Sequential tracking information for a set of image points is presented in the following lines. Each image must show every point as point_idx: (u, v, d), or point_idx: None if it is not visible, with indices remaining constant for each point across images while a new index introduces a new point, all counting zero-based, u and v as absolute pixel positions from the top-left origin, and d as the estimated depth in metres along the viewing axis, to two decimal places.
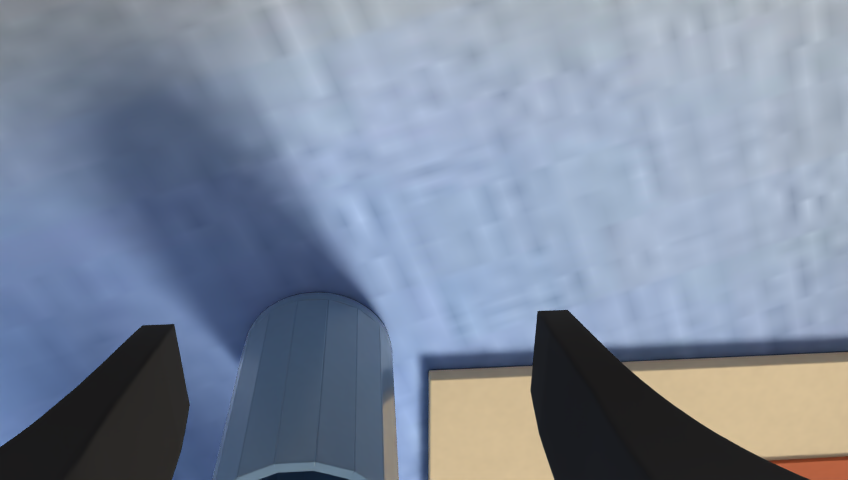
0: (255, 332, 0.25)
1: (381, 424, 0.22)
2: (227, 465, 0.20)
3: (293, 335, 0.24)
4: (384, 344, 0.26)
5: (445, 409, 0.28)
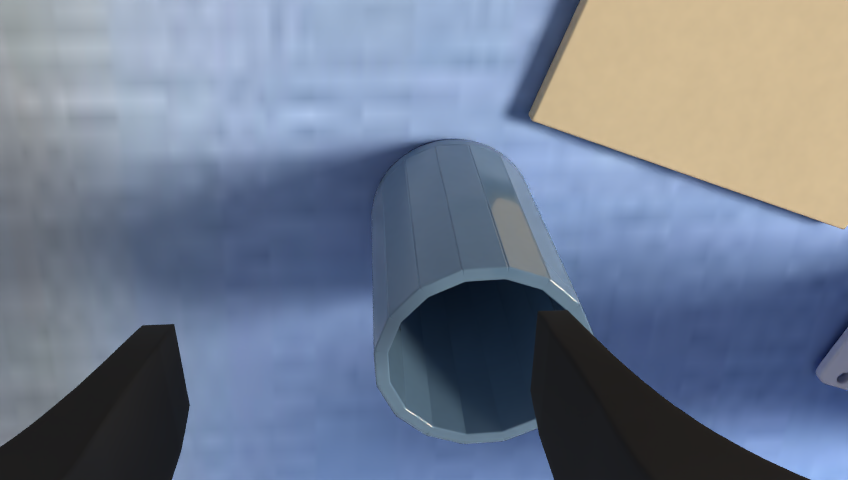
0: None
1: (449, 220, 0.19)
2: None
3: (375, 239, 0.23)
4: (448, 153, 0.23)
5: (581, 118, 0.23)
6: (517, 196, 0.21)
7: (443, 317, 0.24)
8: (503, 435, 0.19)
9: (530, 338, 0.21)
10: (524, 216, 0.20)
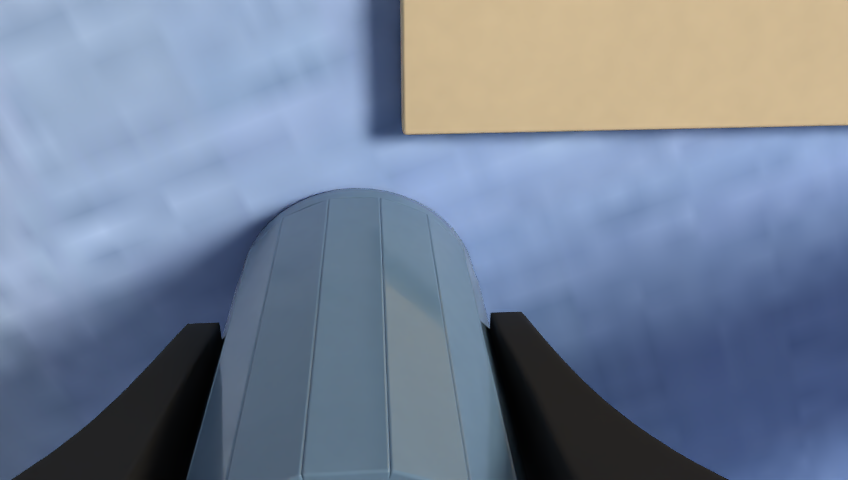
0: None
1: (247, 374, 0.11)
2: None
3: None
4: (295, 226, 0.15)
5: (477, 104, 0.14)
6: (386, 274, 0.13)
7: None
8: None
9: None
10: (384, 318, 0.12)
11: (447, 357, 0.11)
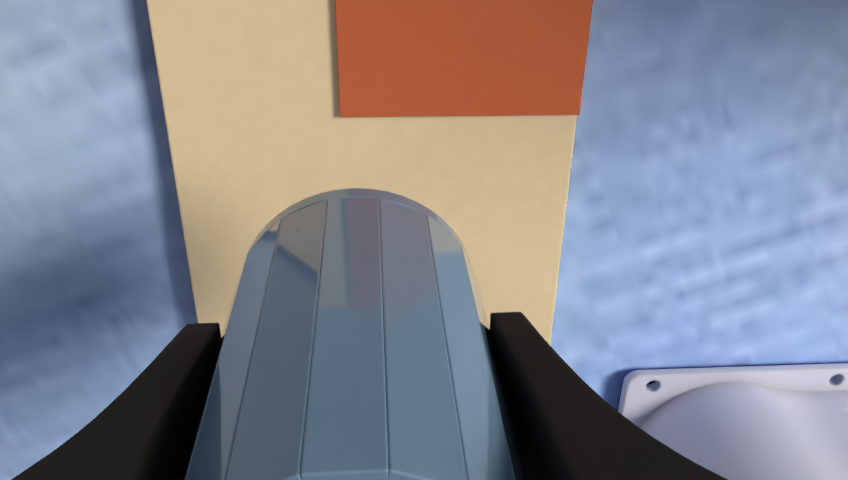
0: None
1: (246, 374, 0.11)
2: None
3: None
4: (294, 226, 0.15)
5: None
6: (385, 274, 0.13)
7: None
8: None
9: None
10: (383, 317, 0.12)
11: (446, 357, 0.11)
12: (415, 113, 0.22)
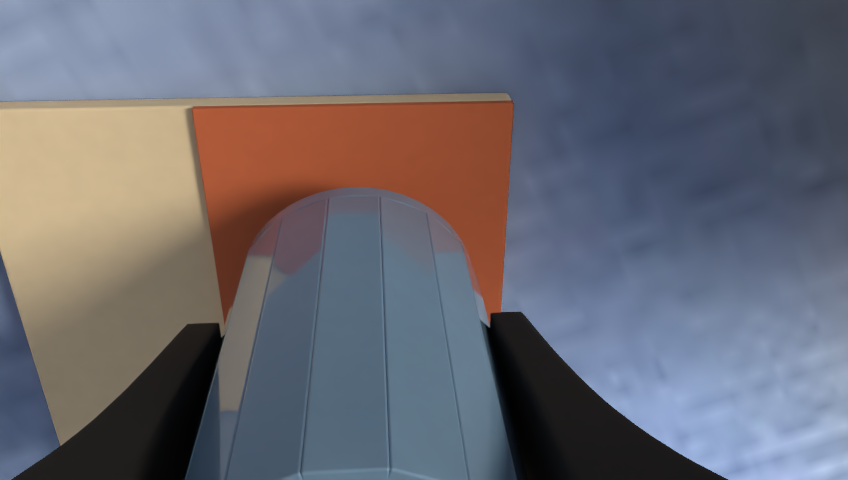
0: None
1: (246, 372, 0.11)
2: None
3: None
4: (294, 225, 0.15)
5: None
6: (385, 273, 0.13)
7: None
8: None
9: None
10: (383, 316, 0.12)
11: (446, 355, 0.11)
12: None
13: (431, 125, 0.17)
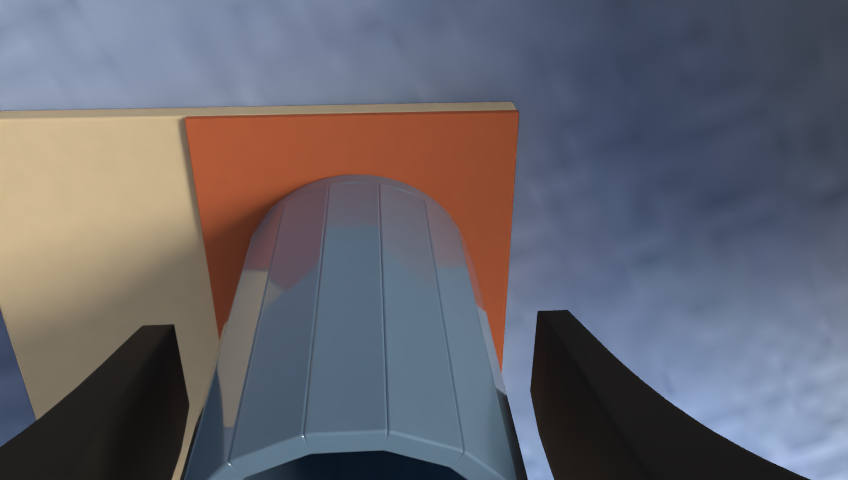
0: None
1: (251, 346, 0.12)
2: None
3: None
4: (296, 210, 0.15)
5: None
6: (384, 254, 0.13)
7: None
8: None
9: None
10: (382, 293, 0.12)
11: (442, 331, 0.12)
12: None
13: (433, 135, 0.16)
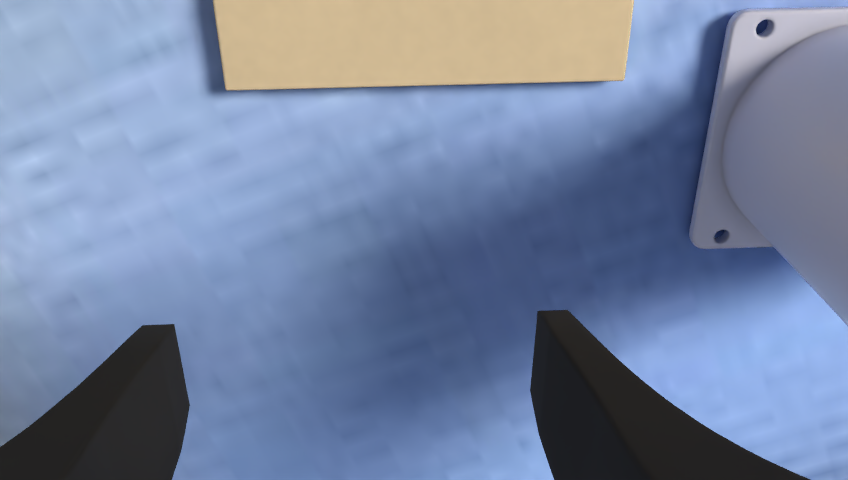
0: None
1: None
2: None
3: None
4: None
5: (272, 70, 0.22)
6: None
7: None
8: None
9: None
10: None
11: None
12: None
13: None
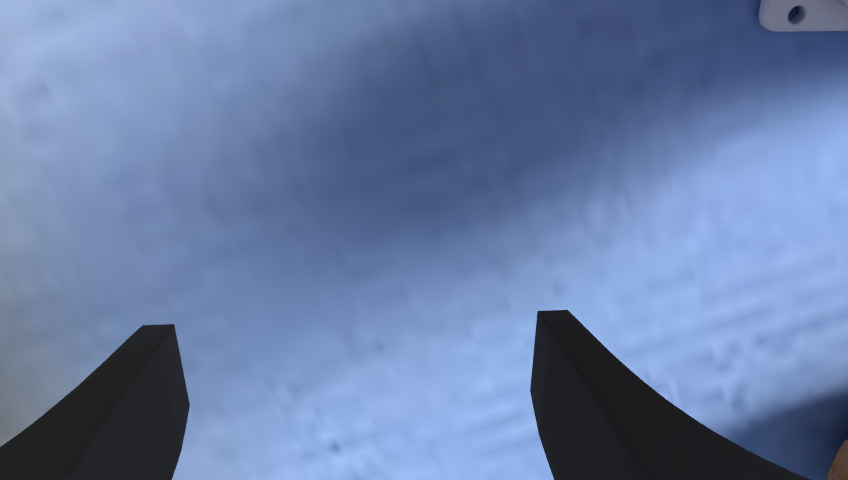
0: None
1: None
2: None
3: None
4: None
5: None
6: None
7: None
8: None
9: None
10: None
11: None
12: None
13: None
